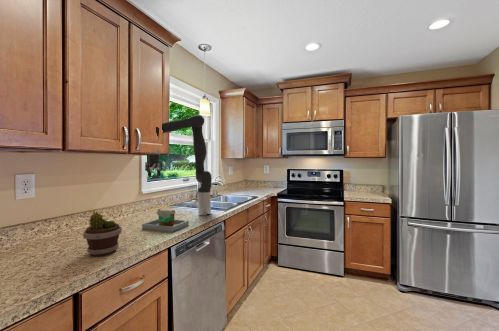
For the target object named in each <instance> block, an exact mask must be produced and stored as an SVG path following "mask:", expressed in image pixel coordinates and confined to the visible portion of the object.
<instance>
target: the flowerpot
mask: <svg viewBox="0 0 499 331" xmlns="http://www.w3.org/2000/svg"><path fill="white" fill-rule="evenodd" d="M104 217H105V216H104V214H102V213H101V212H99V211H96V210H95V211H93V212H92V213H91V215H89V218H88V222H89V223H88V227H86V229H85V230H84V232H83V234H82V236H83V238H84V239H85V240H86V243H87V245H88V247H87V251H86V252H87V253H88V254H90V256H93V257H104V256H110V255H111V254H113V253H116V251H117V250H118V248H119V237H120V234H121V233H122V231H123V230H122V228H123V227H122V226H120V224H119V223H116V221H115V220H112V219H109V220H108V219H106V218H104Z"/></svg>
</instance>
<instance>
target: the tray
mask: <svg viewBox="0 0 499 331" xmlns="http://www.w3.org/2000/svg"><path fill="white" fill-rule="evenodd" d="M189 222H190V221H189V220H185V219H175V218H174V226H172V227H170V226H161V225H159V219H158V218H157V219H154V220H151V221H148V222H145V223H142V224H141V229H142V230H147V231H156V232H157V231H158V232H163V233H164V232H165V233H175V232H176V231H179V230H181V229H184V228H186V227H188V226H189V225H190V224H189Z"/></svg>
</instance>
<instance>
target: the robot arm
mask: <svg viewBox="0 0 499 331" xmlns="http://www.w3.org/2000/svg"><path fill="white" fill-rule="evenodd" d="M161 124H162V130H163V134H167V133H172V132H177V131H180V130H183V129H186V128H191V131H192V141H193V142H192V144H193V152H194V154H193V155H194V162H195V178H196V181H197V182H198V183H200V187H199V188H197V200H198V201H197V202H198V203H197V204H198V205H197V209H198V211H197V212H198V214H199V215H198V216H208V215H207V214H210V213H212V204H211V203H212V202H211V189H212V178H213V177H212V174H211V172H210V171H208V170H205V162H206V161H205V160H206V157H207V153H208V152H207V151H208V150H207V146H206V141H205V137H204V134H203V126H204V124H205V119H204V116H203V115H200V114H195V115H193V116H190V117H187V118H183V119H179V120H174V121H173V120H172V121H166V122H163V123H161ZM156 133H157V136H158V138H159V137H160V134H159V128H158V127H156ZM159 139H160V138H159ZM157 150H158V151H157V153H156V154H149V155H148V154H147V160H148V161H146V162H145V165H144V170H145V171H146V172H147V178H152V170H153V169H155V170H156V177H161V171H163V162H162V161H160V159H161V156H160V155H161V154H160V153H161V152H160V153H159V150H160V148H159V149H157ZM210 215H211V214H210Z"/></svg>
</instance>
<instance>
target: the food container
mask: <svg viewBox="0 0 499 331" xmlns="http://www.w3.org/2000/svg"><path fill="white" fill-rule="evenodd" d="M175 214H176V210H175V209H173V210H168V209H167V210H166V209H165V210H161V209H160V208H159V209H157V212H156V215H157V219H159V225H161V226H170V227H172V226H174V219H175Z"/></svg>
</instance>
